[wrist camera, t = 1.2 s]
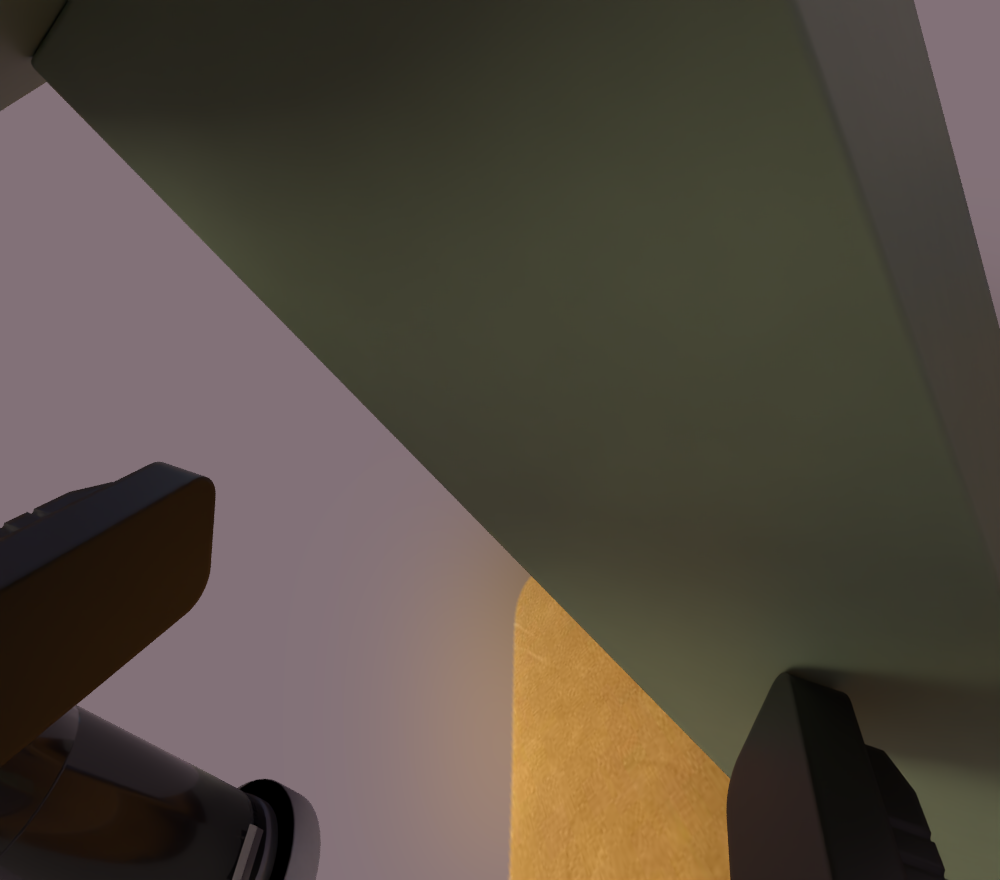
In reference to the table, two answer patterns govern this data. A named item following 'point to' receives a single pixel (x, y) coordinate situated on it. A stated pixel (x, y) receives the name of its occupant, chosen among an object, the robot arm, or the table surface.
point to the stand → (626, 316)
